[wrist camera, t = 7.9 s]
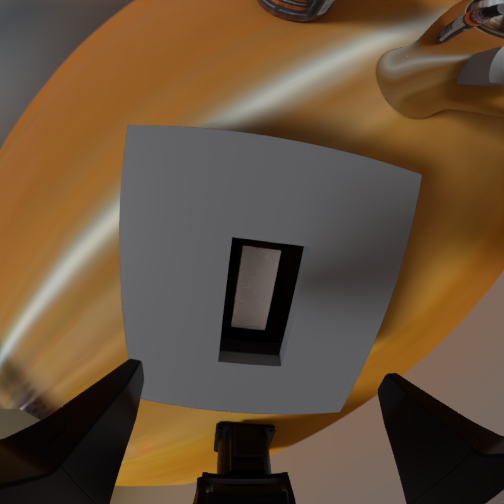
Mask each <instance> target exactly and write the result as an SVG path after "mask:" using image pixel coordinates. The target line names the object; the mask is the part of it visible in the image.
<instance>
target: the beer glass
mask: <svg viewBox="0 0 504 504" xmlns="http://www.w3.org/2000/svg"><path fill="white" fill-rule="evenodd" d="M376 75H377V81H378V84H379V87H380V90H381V92H382V94H383V95H384V97H385V99H386V100H387V101H388V103H389V104H390V105H391V106H392V107H393V108H394V109H395V110H396V111H398V112H399V113H400V114H402V115H404V116H406V117H409V118H413V119H423V118H426V117H429V116H431V115H433V114H435V113H437V112H439V111H442V110H450V109H453V110H463V111H469V112H475V113H481V114H487V115H492V116H500V117H504V0H462V1H460V2H459V3H457V4H455V5H454V6H452V7H451V8H450V9H449V10H447V11H446V12H445V13H444V14H443V15H441V16H440V17H439V18H438V19H437V20H436V21H435V22H434V23H433V24H432V25H431V26H430V27H429V28H428V29H427V30H426V31H425V32H424V33H423V34H422V35H421V36H420V37H419V38H418V39H417V40H416V41H414V42H413V43H411V44H408V45H407V46H404V47H400V48H395V49H392V50H389V51H387V52H385V53H384V54H383V55H382V56H381V58H380V59H379V61H378V64H377V69H376Z"/></svg>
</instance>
